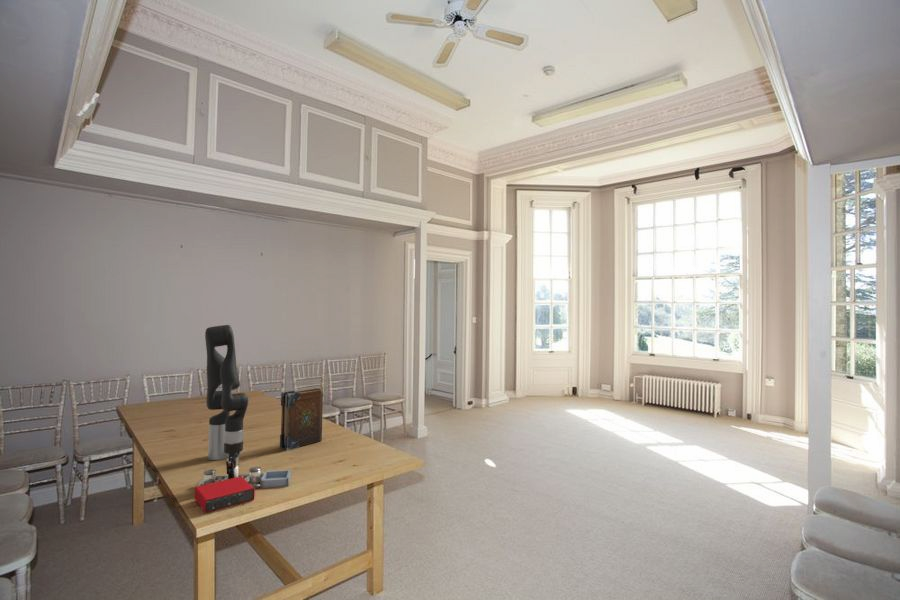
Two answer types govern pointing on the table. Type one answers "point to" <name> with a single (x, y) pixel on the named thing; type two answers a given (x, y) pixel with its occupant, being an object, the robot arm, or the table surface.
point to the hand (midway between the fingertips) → (232, 480)
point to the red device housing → (223, 494)
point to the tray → (275, 478)
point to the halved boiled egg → (235, 472)
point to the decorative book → (301, 418)
